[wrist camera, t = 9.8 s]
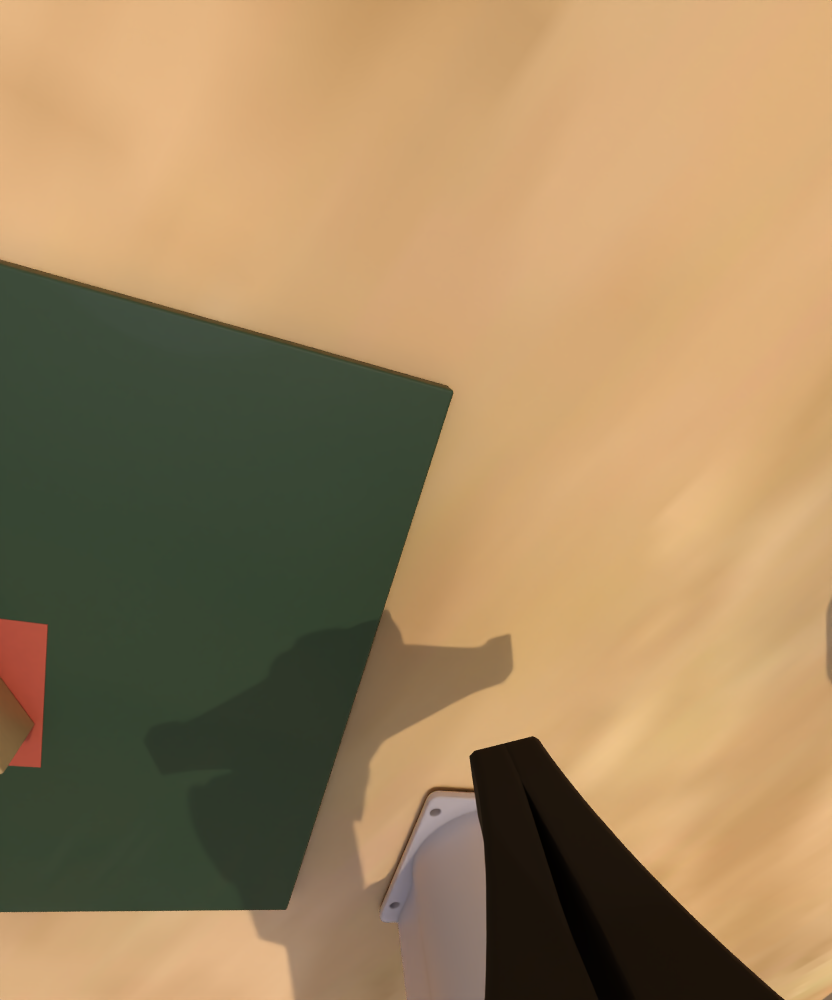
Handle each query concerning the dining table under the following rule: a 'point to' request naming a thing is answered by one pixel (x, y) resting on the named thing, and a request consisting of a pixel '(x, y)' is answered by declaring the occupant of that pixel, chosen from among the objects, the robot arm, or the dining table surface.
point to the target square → (25, 680)
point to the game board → (188, 589)
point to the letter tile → (11, 726)
